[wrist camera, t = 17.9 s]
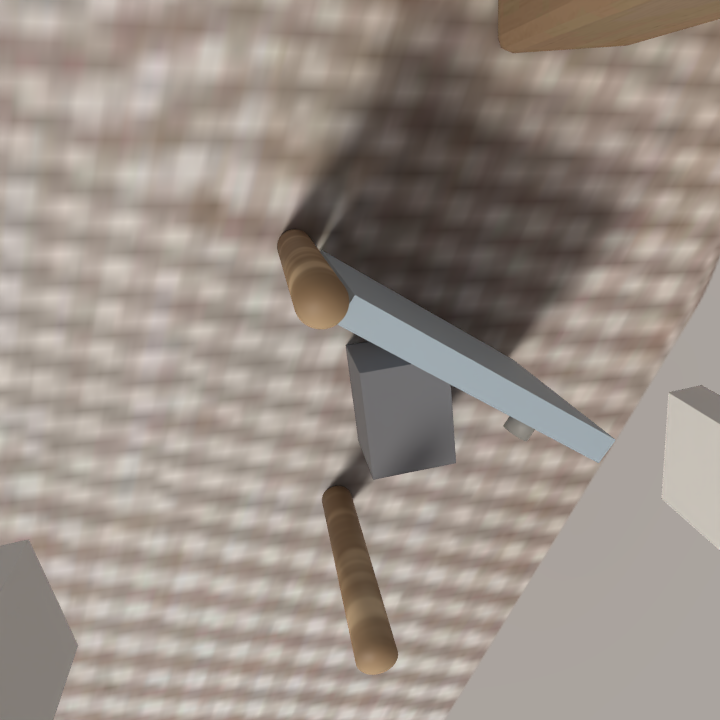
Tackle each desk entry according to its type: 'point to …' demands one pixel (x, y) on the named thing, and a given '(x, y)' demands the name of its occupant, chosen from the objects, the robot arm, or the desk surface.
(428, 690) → the desk surface
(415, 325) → the door
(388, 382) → the block
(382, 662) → the door frame
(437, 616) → the desk surface
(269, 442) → the desk surface
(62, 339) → the desk surface
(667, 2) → the wooden block
